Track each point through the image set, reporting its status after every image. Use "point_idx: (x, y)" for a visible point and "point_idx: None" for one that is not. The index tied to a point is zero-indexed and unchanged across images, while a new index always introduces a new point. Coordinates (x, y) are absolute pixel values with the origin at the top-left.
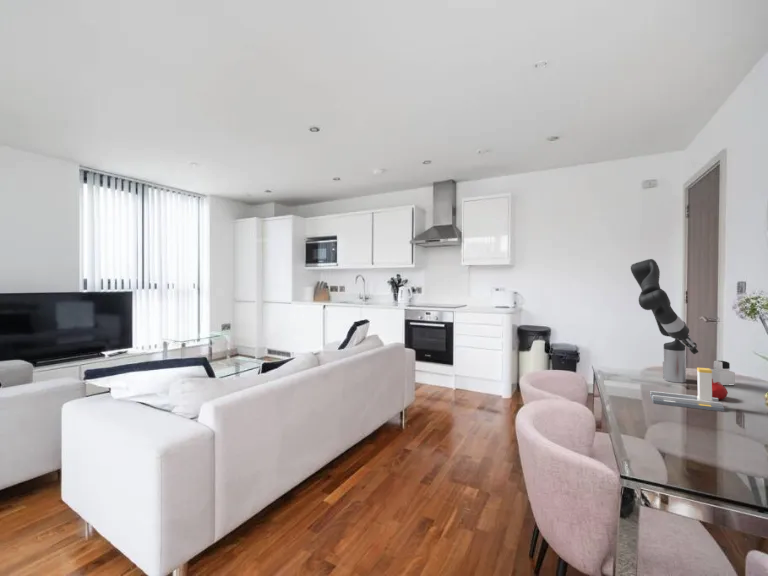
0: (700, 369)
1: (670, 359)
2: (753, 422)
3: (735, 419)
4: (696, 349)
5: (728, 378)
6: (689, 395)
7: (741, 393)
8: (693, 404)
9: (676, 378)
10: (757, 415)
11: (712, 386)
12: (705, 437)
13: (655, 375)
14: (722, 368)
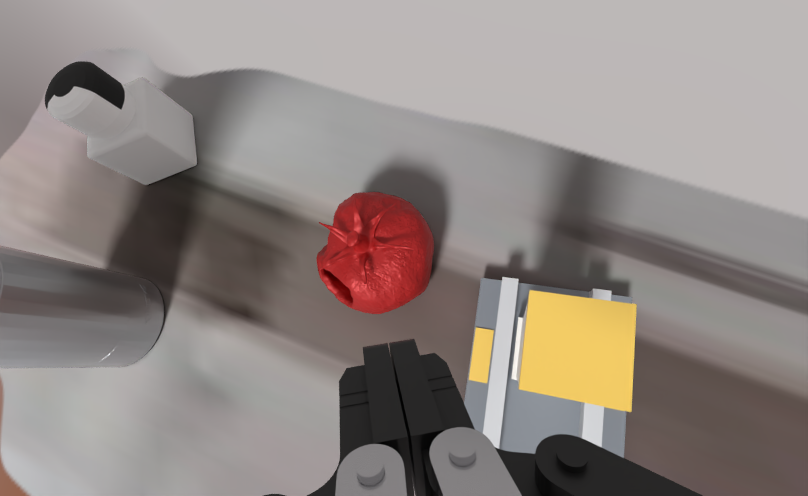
0: (618, 396)
1: (9, 346)
2: (770, 235)
3: (757, 299)
4: (424, 372)
5: (169, 118)
6: (496, 412)
7: (294, 128)
8: (621, 439)
9: (143, 326)
10: (626, 179)
11: (401, 256)
12: None
13: (47, 379)
14: (120, 109)
